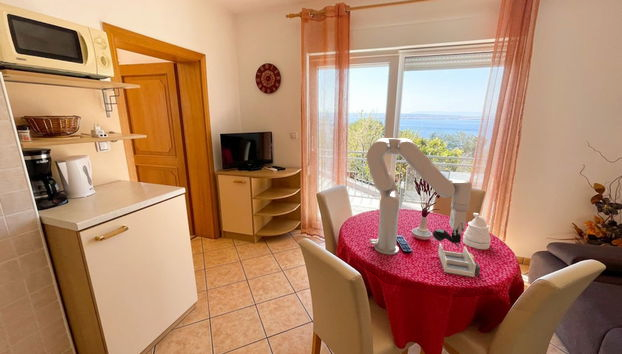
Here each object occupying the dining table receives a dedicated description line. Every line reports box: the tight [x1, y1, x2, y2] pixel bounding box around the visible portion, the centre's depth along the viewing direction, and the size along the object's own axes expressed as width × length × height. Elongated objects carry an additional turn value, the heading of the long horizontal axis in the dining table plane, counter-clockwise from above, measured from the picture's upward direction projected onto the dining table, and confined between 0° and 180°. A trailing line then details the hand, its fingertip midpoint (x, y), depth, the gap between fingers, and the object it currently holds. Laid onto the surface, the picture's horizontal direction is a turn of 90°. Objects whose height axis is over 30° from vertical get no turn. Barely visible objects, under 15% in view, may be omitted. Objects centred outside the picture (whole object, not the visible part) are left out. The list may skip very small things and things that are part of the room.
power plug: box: [432, 228, 460, 247], centre depth 125 cm, size 6×8×12 cm
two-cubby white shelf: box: [437, 242, 476, 278], centre depth 120 cm, size 12×18×6 cm, turn 162°
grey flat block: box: [474, 261, 481, 277], centre depth 114 cm, size 1×5×4 cm, turn 162°
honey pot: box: [462, 212, 492, 250], centre depth 139 cm, size 13×13×18 cm
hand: (455, 241), depth 122 cm, fingers closed on power plug, 2 cm apart
